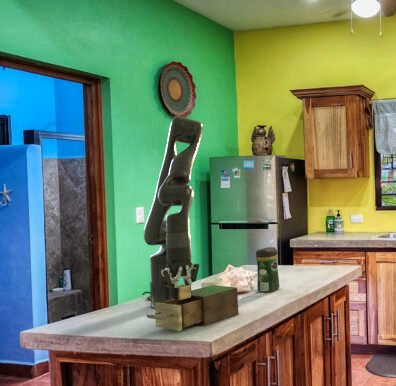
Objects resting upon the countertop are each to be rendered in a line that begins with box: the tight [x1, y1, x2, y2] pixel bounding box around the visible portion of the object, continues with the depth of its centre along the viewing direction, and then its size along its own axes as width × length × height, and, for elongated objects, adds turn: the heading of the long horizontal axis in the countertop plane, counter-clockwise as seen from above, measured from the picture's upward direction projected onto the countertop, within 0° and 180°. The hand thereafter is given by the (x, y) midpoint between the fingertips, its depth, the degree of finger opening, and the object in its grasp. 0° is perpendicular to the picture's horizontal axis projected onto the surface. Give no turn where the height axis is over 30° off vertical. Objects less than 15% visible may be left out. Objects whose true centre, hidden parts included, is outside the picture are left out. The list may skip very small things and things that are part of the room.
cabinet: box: [191, 285, 239, 327], centre depth 168 cm, size 15×13×10 cm
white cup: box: [200, 277, 224, 288], centre depth 185 cm, size 8×8×10 cm
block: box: [176, 283, 191, 300], centre depth 159 cm, size 4×4×4 cm
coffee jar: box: [255, 246, 281, 294], centre depth 209 cm, size 10×8×19 cm
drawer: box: [146, 297, 203, 332], centre depth 158 cm, size 18×11×8 cm, turn 151°
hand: (181, 297), depth 159 cm, fingers closed on block, 4 cm apart
